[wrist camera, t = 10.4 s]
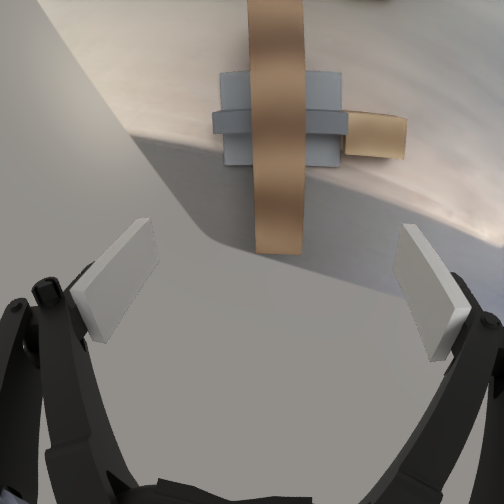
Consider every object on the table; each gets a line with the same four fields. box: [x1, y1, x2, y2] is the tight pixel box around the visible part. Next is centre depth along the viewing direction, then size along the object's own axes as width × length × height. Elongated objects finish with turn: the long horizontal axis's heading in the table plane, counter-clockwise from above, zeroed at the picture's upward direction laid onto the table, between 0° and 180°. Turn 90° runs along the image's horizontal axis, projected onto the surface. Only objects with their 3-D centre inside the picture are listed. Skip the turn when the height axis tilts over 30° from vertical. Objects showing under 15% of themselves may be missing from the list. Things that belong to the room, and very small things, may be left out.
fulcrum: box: [212, 71, 349, 167], centre depth 27 cm, size 10×12×5 cm
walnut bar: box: [247, 0, 306, 255], centre depth 23 cm, size 22×4×4 cm, turn 2°
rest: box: [340, 110, 407, 159], centre depth 27 cm, size 4×6×4 cm, turn 92°
